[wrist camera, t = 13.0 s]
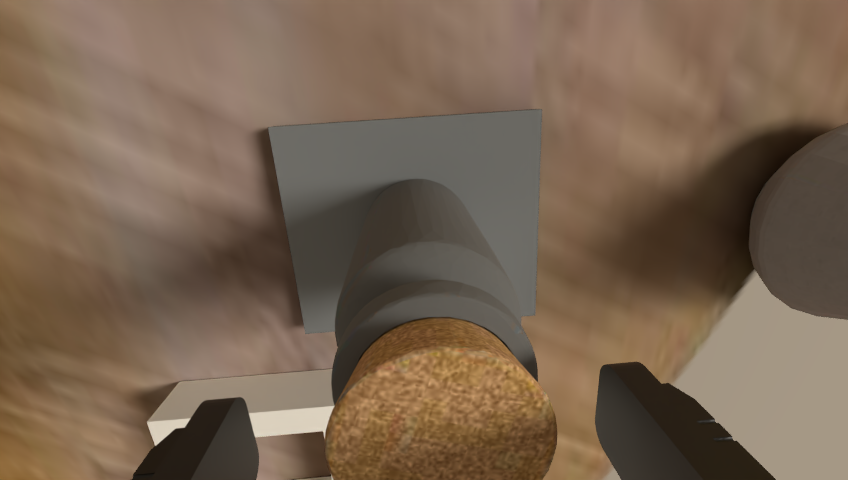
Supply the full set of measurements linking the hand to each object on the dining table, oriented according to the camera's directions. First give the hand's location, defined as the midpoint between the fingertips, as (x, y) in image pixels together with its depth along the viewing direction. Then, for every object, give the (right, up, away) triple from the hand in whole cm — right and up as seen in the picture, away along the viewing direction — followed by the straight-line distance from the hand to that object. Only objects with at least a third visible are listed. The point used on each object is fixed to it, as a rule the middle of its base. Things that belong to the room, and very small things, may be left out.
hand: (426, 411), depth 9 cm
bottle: (0, +4, +13) cm, 14 cm away
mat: (-1, +5, +14) cm, 15 cm away
